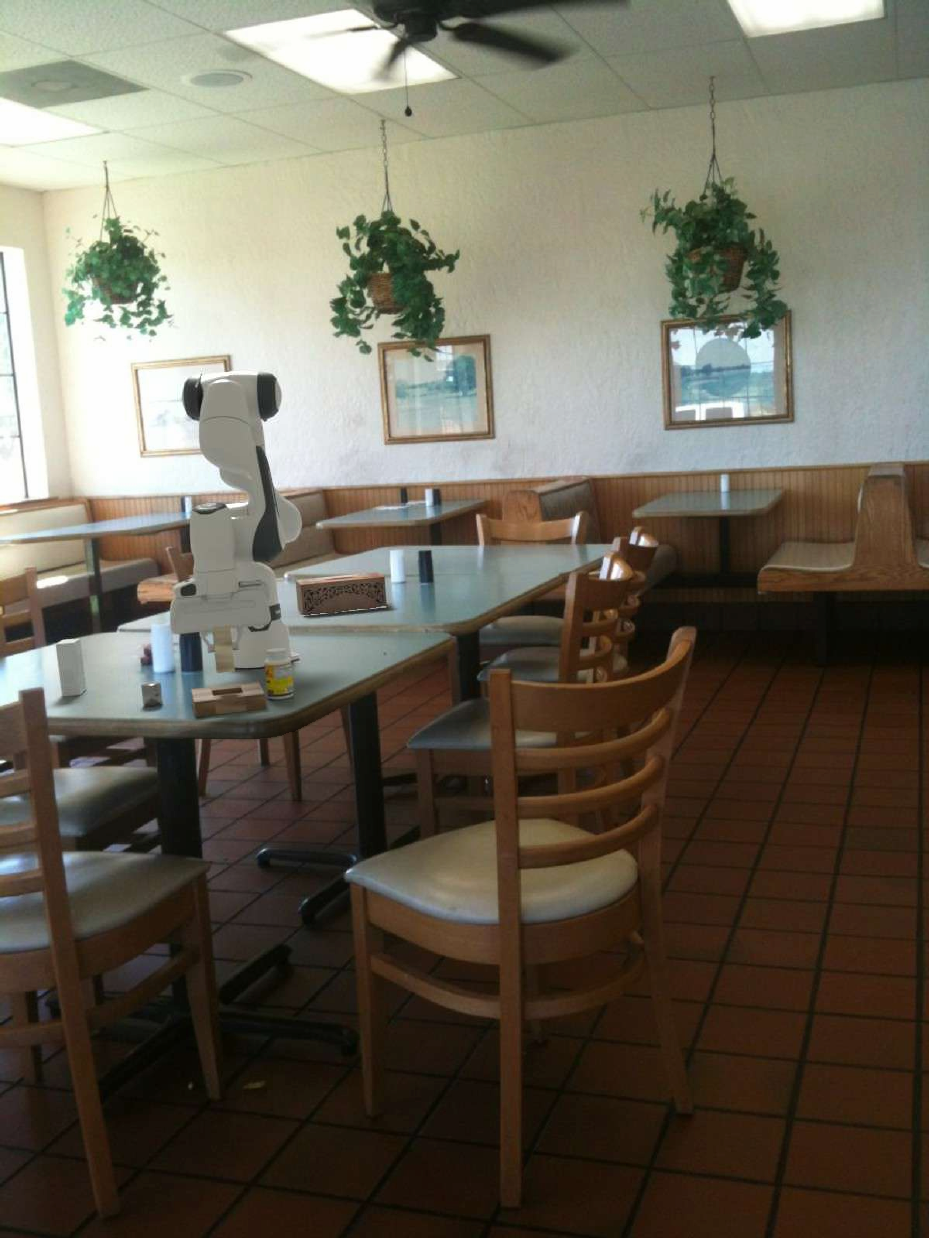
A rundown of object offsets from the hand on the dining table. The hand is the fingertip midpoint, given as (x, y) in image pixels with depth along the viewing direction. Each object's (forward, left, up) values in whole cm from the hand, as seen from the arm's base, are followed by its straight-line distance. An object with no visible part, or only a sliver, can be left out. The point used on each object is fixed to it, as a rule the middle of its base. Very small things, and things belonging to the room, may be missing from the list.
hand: (223, 651), depth 256 cm
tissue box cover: (-126, +44, -12) cm, 134 cm away
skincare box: (-34, -32, -12) cm, 48 cm away
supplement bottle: (-3, +11, -12) cm, 16 cm away
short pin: (-10, -15, -12) cm, 21 cm away
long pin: (0, 0, -4) cm, 4 cm away
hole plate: (0, 0, -12) cm, 12 cm away
